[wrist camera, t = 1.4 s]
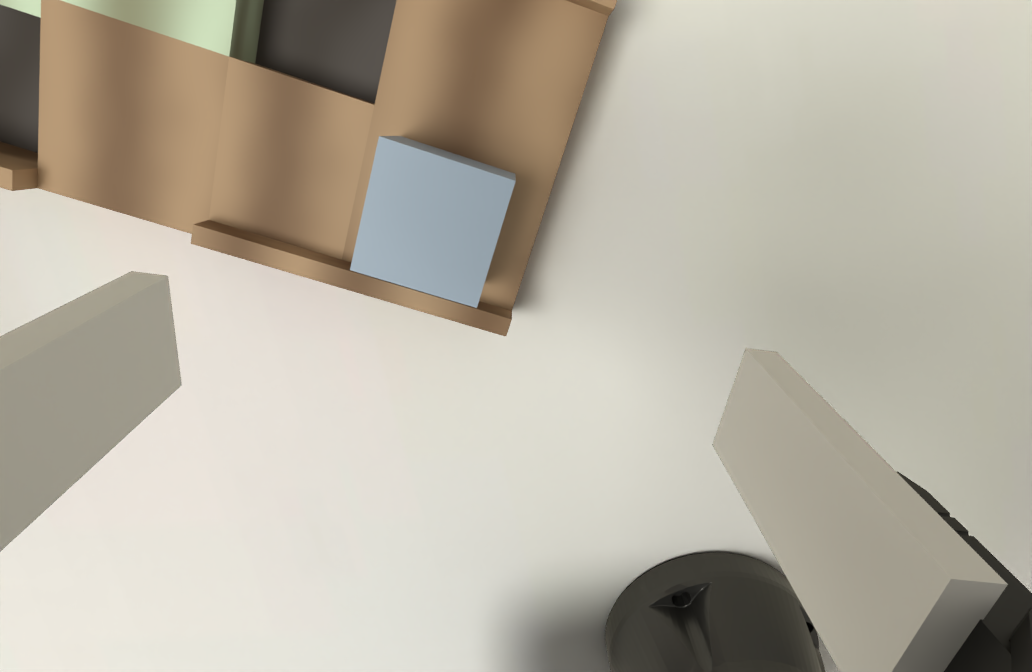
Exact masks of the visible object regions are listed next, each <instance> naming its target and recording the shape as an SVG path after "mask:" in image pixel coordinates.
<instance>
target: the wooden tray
mask: <svg viewBox="0 0 1032 672" xmlns="http://www.w3.org/2000/svg"><path fill="white" fill-rule="evenodd" d="M616 2H617V0H0V187H1V188H4V189H8V190H11V191H15V190H24V189H32V188H39V189H43V190H46V191H49V192H53V193H56V194H59V195H63V196H66V197H70V198H73V199H76V200H80V201H83V202H86V203H90V204H93V205H96V206H100V207H103V208H107V209H110V210H113V211H117V212H120V213H123V214H127V215H130V216H134V217H137V218H140V219H144V220H147V221H150V222H154V223H157V224H160V225H164V226H167V227H171V228H174V229H177V230H181V231H184V232H187V233H191V234H192V238H191V244H194V245H198V246H201V247H204V248H208V249H211V250H215V251H218V252H221V253H225V254H228V255H232V256H235V257H238V258H242V259H245V260H249V261H252V262H255V263H259V264H262V265H265V266H269V267H272V268H276V269H279V270H282V271H286V272H289V273H293V274H296V275H299V276H303V277H306V278H310V279H313V280H316V281H320V282H323V283H326V284H330V285H333V286H337V287H340V288H343V289H347V290H350V291H354V292H357V293H360V294H364V295H367V296H371V297H374V298H377V299H381V300H384V301H387V302H391V303H394V304H398V305H401V306H404V307H408V308H411V309H415V310H418V311H421V312H425V313H428V314H432V315H435V316H438V317H442V318H445V319H448V320H452V321H455V322H459V323H462V324H465V325H469V326H472V327H476V328H479V329H482V330H486V331H489V332H493V333H496V334H499V335H503V336H506V335H507V332H508V329H509V326H510V323H511V320H512V308H513V305H514V302H515V299H516V296H517V293H518V290H519V287H520V284H521V281H522V278H523V275H524V272H525V269H526V266H527V263H528V260H529V257H530V254H531V251H532V248H533V245H534V241H535V238H536V235H537V232H538V229H539V226H540V223H541V220H542V217H543V214H544V211H545V208H546V205H547V202H548V199H549V196H550V193H551V190H552V187H553V184H554V181H555V178H556V175H557V171H558V168H559V165H560V162H561V159H562V156H563V153H564V150H565V147H566V144H567V141H568V138H569V135H570V132H571V129H572V126H573V123H574V120H575V117H576V114H577V111H578V108H579V105H580V101H581V98H582V95H583V92H584V89H585V86H586V83H587V80H588V77H589V74H590V71H591V68H592V65H593V62H594V59H595V56H596V53H597V50H598V47H599V44H600V41H601V38H602V35H603V31H604V28H605V25H606V22H607V19H608V16H609V15H610V14H611V12H612V11H613V10H614V8H615V5H616ZM379 136H402V137H405V138H408V139H411V140H414V141H417V142H420V143H423V144H426V145H429V146H432V147H436V148H439V149H442V150H445V151H448V152H451V153H454V154H457V155H460V156H463V157H466V158H469V159H472V160H475V161H478V162H481V163H484V164H487V165H490V166H493V167H496V168H499V169H502V170H505V171H509V172H512V173H515V177H516V182H515V185H514V188H513V191H512V195H511V198H510V201H509V204H508V208H507V211H506V214H505V218H504V221H503V224H502V227H501V231H500V234H499V237H498V240H497V244H496V247H495V250H494V254H493V257H492V260H491V263H490V267H489V270H488V273H487V276H486V280H485V283H484V286H483V290H482V293H481V296H480V299H479V303H478V306H477V308H475V307H472V306H468V305H465V304H461V303H458V302H455V301H451V300H448V299H445V298H441V297H438V296H435V295H431V294H428V293H425V292H421V291H418V290H415V289H411V288H408V287H405V286H401V285H398V284H395V283H391V282H388V281H385V280H381V279H378V278H375V277H371V276H368V275H365V274H361V273H358V272H354V271H351V270H350V267H351V263H352V258H353V253H354V249H355V244H356V240H357V235H358V230H359V226H360V221H361V217H362V212H363V207H364V203H365V198H366V194H367V189H368V185H369V180H370V175H371V171H372V166H373V162H374V157H375V152H376V148H377V143H378V139H379Z"/></svg>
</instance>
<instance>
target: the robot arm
mask: <svg viewBox="0 0 1032 672" xmlns="http://www.w3.org/2000/svg"><path fill="white" fill-rule="evenodd" d="M181 385H182V384H181V376H180V368H179V360H178V352H177V344H176V336H175V328H174V320H173V312H172V304H171V297H170V289H169V281H168V276H165V275H157V274H149V273H141V272H133V271H131V272H129V273H127V274H125V275H123V276H121V277H119V278H117V279H115V280H113V281H111V282H109V283H107V284H105V285H103V286H101V287H99V288H97V289H95V290H93V291H91V292H89V293H87V294H85V295H83V296H81V297H79V298H77V299H75V300H73V301H71V302H69V303H67V304H65V305H63V306H61V307H59V308H57V309H55V310H53V311H51V312H49V313H47V314H45V315H43V316H41V317H39V318H37V319H35V320H33V321H31V322H29V323H26V324H24V325H22V326H20V327H18V328H16V329H14V330H12V331H10V332H8V333H6V334H4V335H2V336H0V551H1V550H3V549H4V548H5V547H6V546H7V545H8V544H9V543H10V542H11V541H12V540H13V539H15V538H16V537H17V536H18V535H19V534H20V533H21V532H22V531H23V530H24V529H25V528H27V527H28V526H29V525H30V524H31V523H32V522H33V521H34V520H35V519H36V518H37V517H38V516H40V515H41V514H42V513H43V512H44V511H45V510H46V509H47V508H48V507H49V506H50V505H52V504H53V503H54V502H55V501H56V500H57V499H58V498H59V497H60V496H61V495H62V494H64V493H65V492H66V491H67V490H68V489H69V488H70V487H71V486H72V485H73V484H74V483H75V482H77V481H78V480H79V479H80V478H81V477H82V476H83V475H84V474H85V473H86V472H87V471H89V470H90V469H91V468H92V467H93V466H94V465H95V464H96V463H97V462H98V461H99V460H101V459H102V458H103V457H104V456H105V455H106V454H107V453H108V452H109V451H110V450H111V449H112V448H114V447H115V446H116V445H117V444H118V443H119V442H120V441H121V440H122V439H123V438H124V437H126V436H127V435H128V434H129V433H130V432H131V431H132V430H133V429H134V428H135V427H136V426H138V425H139V424H140V423H141V422H142V421H143V420H144V419H145V418H146V417H147V416H148V415H149V414H151V413H152V412H153V411H154V410H155V409H156V408H157V407H158V406H159V405H160V404H161V403H163V402H164V401H165V400H166V399H167V398H168V397H169V396H170V395H171V394H172V393H173V392H175V391H176V390H177V389H178V388H179V387H180V386H181ZM712 445H713V447H714V449H715V450H716V452H717V454H718V456H719V458H720V459H721V461H722V463H723V465H724V466H725V468H726V470H727V472H728V474H729V475H730V477H731V479H732V481H733V483H734V484H735V486H736V488H737V490H738V491H739V493H740V495H741V497H742V499H743V500H744V502H745V504H746V506H747V508H748V509H749V511H750V513H751V515H752V516H753V518H754V520H755V522H756V524H757V525H758V527H759V529H760V531H761V532H762V534H763V536H764V538H765V540H766V541H767V543H768V545H769V547H770V549H771V550H772V552H773V554H774V556H775V557H776V559H777V561H778V563H779V565H780V566H781V568H782V570H783V572H784V574H785V575H786V577H787V578H786V577H785V576H784V575H783V574H781V573H780V572H779V571H778V570H776V569H775V568H773V567H771V566H770V565H768V564H766V563H764V562H762V561H759V560H757V559H754V558H751V557H747V556H743V555H738V554H731V553H701V554H694V555H689V556H685V557H681V558H677V559H674V560H671V561H669V562H666V563H664V564H661V565H659V566H657V567H655V568H653V569H651V570H650V571H648V572H646V573H645V574H643V575H642V576H641V577H639V578H638V579H636V580H635V581H634V582H633V583H632V584H631V585H630V586H629V587H628V588H627V589H626V590H625V591H624V592H623V593H622V594H621V596H620V597H619V598H618V600H617V601H616V603H615V604H614V606H613V608H612V610H611V612H610V614H609V617H608V620H607V625H606V631H605V642H606V648H607V654H608V659H609V665H610V670H611V672H825V669H824V665H823V661H822V658H821V654H820V652H819V643H818V636H817V632H818V634H819V636H820V638H821V640H822V641H823V643H824V645H825V647H826V648H827V650H828V652H829V654H830V656H831V657H832V659H833V661H834V663H835V665H836V666H837V668H838V670H839V672H1032V593H1031V592H1030V591H1029V590H1028V589H1027V588H1026V587H1025V586H1024V585H1023V584H1022V583H1021V582H1020V581H1019V580H1018V579H1017V578H1015V577H1014V576H1013V575H1012V574H1011V573H1010V572H1009V571H1008V570H1007V569H1006V568H1005V567H1004V566H1003V565H1002V564H1001V563H1000V562H999V561H998V560H997V559H996V558H995V557H994V556H993V555H992V554H991V553H990V552H989V551H988V550H987V549H986V548H985V547H984V546H983V545H982V544H981V543H980V542H979V541H978V540H977V539H976V538H975V537H974V536H969V535H968V531H967V530H966V529H965V528H964V527H963V526H962V525H961V524H960V523H959V522H958V521H957V520H956V519H955V518H952V517H950V513H949V512H948V511H947V510H946V509H945V508H944V507H943V506H942V505H941V504H940V503H939V502H938V501H937V500H936V499H935V498H934V497H933V496H932V495H931V494H930V493H928V492H927V491H926V490H924V489H923V488H921V487H920V486H918V485H917V484H915V483H914V482H912V481H911V480H910V479H908V478H907V477H905V476H904V475H902V474H901V473H899V472H896V471H895V470H894V469H893V468H892V467H891V466H890V465H889V464H888V463H887V462H886V461H885V460H884V459H883V458H882V457H881V456H880V455H879V454H878V453H877V452H876V451H875V450H874V449H873V448H872V447H871V446H870V445H869V444H868V443H867V442H866V441H865V440H864V439H863V438H862V437H861V436H860V435H859V434H858V433H857V432H856V431H855V430H854V429H853V428H852V427H851V426H850V425H849V424H848V423H847V422H846V421H845V420H844V419H843V418H842V417H841V416H840V415H839V414H838V413H837V412H836V411H835V410H834V409H833V408H832V407H831V406H830V405H829V404H828V403H827V402H826V401H825V400H824V399H823V398H822V397H821V396H820V395H819V394H818V393H817V392H816V391H815V390H814V389H813V388H812V387H811V386H810V385H809V384H808V383H807V382H806V381H805V380H804V379H803V378H802V377H801V376H800V375H799V374H798V373H797V372H796V371H795V370H794V369H793V368H792V367H791V366H790V365H789V364H788V363H787V362H786V361H785V360H784V359H783V358H782V357H781V356H780V355H779V354H778V353H777V352H772V351H764V350H756V349H748V348H746V349H745V352H744V355H743V358H742V361H741V363H740V366H739V369H738V372H737V375H736V378H735V381H734V384H733V387H732V389H731V392H730V395H729V398H728V401H727V404H726V407H725V410H724V413H723V415H722V418H721V421H720V424H719V427H718V430H717V433H716V436H715V439H714V441H713V444H712Z"/></svg>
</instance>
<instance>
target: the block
mask: <svg viewBox="0 0 1032 672" xmlns="http://www.w3.org/2000/svg"><path fill="white" fill-rule="evenodd" d="M515 182H516V177H515V173H512V172H509V171H505V170H502V169H499V168H496V167H493V166H490V165H487V164H484V163H481V162H478V161H475V160H472V159H469V158H466V157H463V156H460V155H457V154H454V153H451V152H448V151H445V150H442V149H439V148H436V147H432V146H429V145H426V144H423V143H420V142H417V141H414V140H411V139H408V138H405V137H402V136H379V139H378V143H377V148H376V152H375V157H374V162H373V166H372V171H371V175H370V180H369V185H368V189H367V194H366V198H365V203H364V207H363V212H362V217H361V221H360V226H359V230H358V235H357V240H356V244H355V249H354V253H353V258H352V263H351V267H350V270H351V271H354V272H358V273H361V274H365V275H368V276H371V277H375V278H378V279H381V280H385V281H388V282H391V283H395V284H398V285H401V286H405V287H408V288H411V289H415V290H418V291H421V292H425V293H428V294H431V295H435V296H438V297H441V298H445V299H448V300H451V301H455V302H458V303H461V304H465V305H468V306H472V307H475V308H477V306H478V303H479V299H480V296H481V293H482V290H483V286H484V283H485V280H486V276H487V273H488V270H489V267H490V263H491V260H492V257H493V254H494V250H495V247H496V244H497V240H498V237H499V234H500V231H501V227H502V224H503V221H504V218H505V214H506V211H507V208H508V204H509V201H510V198H511V195H512V191H513V188H514V185H515Z"/></svg>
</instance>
